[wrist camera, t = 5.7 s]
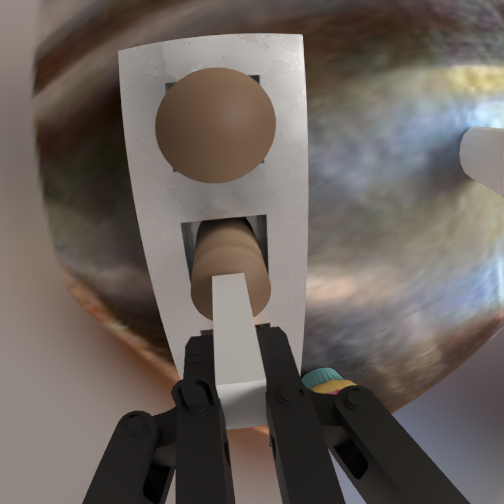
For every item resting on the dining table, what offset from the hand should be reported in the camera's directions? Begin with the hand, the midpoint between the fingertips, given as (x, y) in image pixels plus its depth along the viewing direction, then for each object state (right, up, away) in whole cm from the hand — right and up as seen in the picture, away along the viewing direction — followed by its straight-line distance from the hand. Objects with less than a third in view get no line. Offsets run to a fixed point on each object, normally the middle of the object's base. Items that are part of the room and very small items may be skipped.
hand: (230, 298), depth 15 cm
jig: (-1, +5, +9) cm, 10 cm away
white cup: (+24, +13, +9) cm, 29 cm away
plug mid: (-1, +3, +6) cm, 7 cm away
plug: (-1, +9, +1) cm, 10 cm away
